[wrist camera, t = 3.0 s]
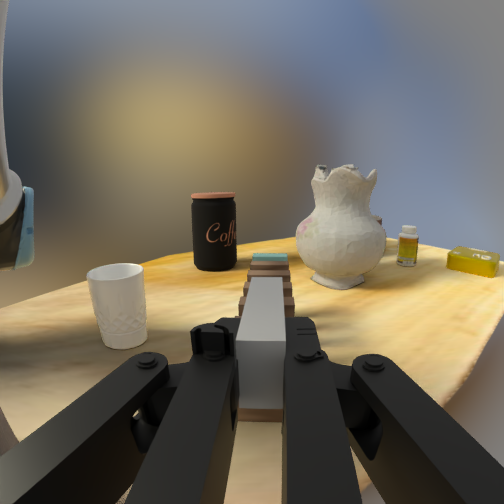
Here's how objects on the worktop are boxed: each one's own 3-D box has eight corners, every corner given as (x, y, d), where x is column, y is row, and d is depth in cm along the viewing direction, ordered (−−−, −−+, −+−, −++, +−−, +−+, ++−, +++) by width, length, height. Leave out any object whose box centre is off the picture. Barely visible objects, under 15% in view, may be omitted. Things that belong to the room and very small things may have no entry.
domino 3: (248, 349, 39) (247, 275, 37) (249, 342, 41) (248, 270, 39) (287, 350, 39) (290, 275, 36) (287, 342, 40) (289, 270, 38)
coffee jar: (207, 275, 71) (204, 194, 67) (186, 265, 79) (183, 194, 75) (245, 266, 77) (244, 192, 73) (222, 258, 85) (220, 191, 81)
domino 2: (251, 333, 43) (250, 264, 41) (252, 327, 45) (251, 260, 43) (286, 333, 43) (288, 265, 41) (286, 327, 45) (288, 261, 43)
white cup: (132, 322, 46) (124, 260, 44) (163, 337, 42) (155, 269, 39) (90, 338, 40) (77, 272, 38) (117, 358, 35) (103, 284, 33)
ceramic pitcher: (274, 276, 73) (266, 167, 66) (335, 259, 81) (332, 163, 75) (339, 307, 54) (337, 164, 48) (401, 280, 63) (403, 164, 56)
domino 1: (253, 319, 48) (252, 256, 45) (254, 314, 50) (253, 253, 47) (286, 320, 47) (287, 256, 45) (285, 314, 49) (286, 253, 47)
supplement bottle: (417, 267, 73) (421, 228, 71) (397, 266, 75) (401, 227, 72) (413, 262, 78) (416, 225, 76) (394, 261, 80) (397, 224, 78)
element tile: (498, 268, 70) (500, 252, 69) (493, 279, 61) (496, 261, 60) (456, 259, 81) (457, 244, 80) (444, 269, 72) (446, 251, 71)
